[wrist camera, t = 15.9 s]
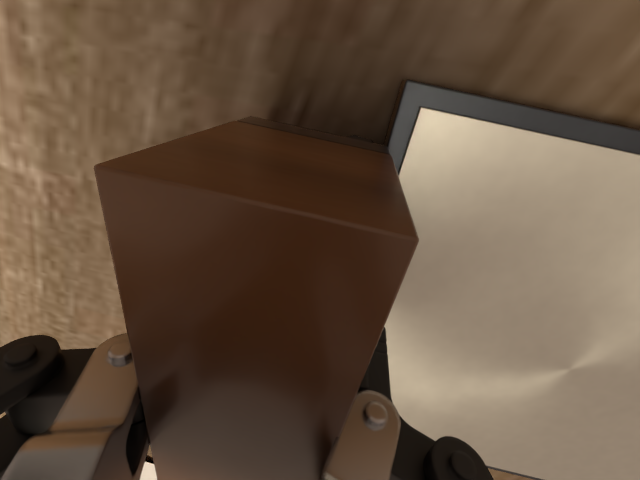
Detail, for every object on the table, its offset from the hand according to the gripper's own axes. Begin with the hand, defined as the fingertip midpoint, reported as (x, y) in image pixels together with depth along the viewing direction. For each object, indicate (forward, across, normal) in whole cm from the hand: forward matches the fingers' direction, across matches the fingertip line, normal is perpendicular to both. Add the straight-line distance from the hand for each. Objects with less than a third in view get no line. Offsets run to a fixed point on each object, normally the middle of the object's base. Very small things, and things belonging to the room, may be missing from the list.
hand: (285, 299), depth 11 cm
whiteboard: (+2, -12, +1) cm, 12 cm away
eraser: (+1, 0, 0) cm, 1 cm away
